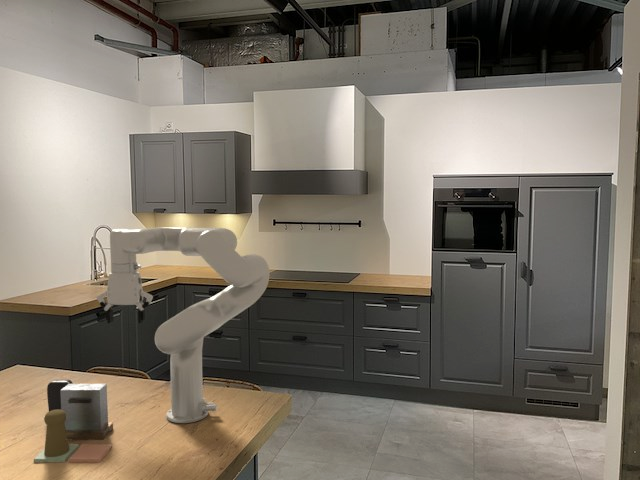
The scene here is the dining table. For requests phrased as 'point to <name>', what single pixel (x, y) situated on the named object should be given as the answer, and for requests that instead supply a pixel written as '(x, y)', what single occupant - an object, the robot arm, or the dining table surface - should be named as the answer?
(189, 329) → the robot arm
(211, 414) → the dining table surface
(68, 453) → the green pad
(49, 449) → the brown pepper mill
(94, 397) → the grey unit
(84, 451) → the terracotta pad
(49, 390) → the battery charger
